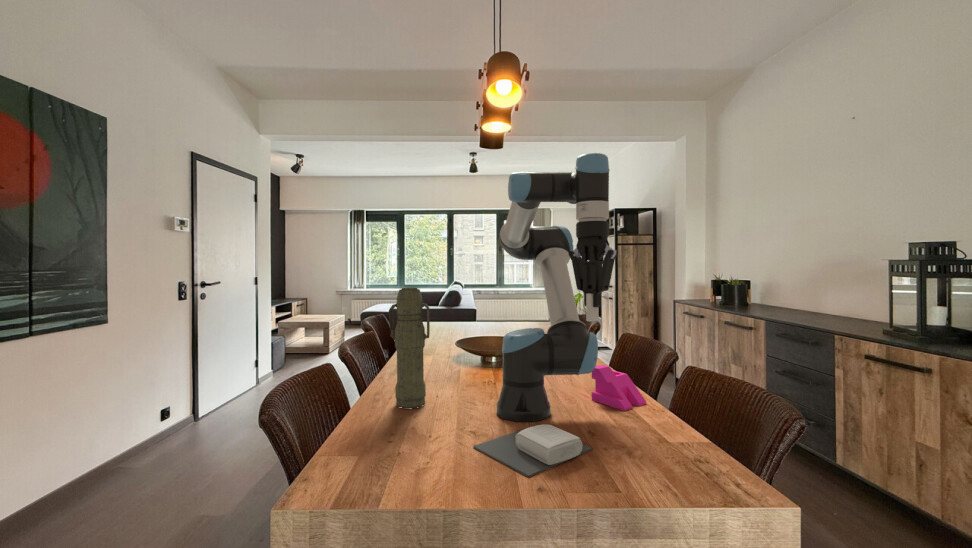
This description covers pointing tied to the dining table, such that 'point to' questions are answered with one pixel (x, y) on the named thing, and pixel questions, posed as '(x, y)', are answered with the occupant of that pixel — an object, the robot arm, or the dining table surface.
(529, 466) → the mat
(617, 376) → the bracket
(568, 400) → the dining table surface
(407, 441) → the dining table surface
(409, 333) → the thermos
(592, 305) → the robot arm
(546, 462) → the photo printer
